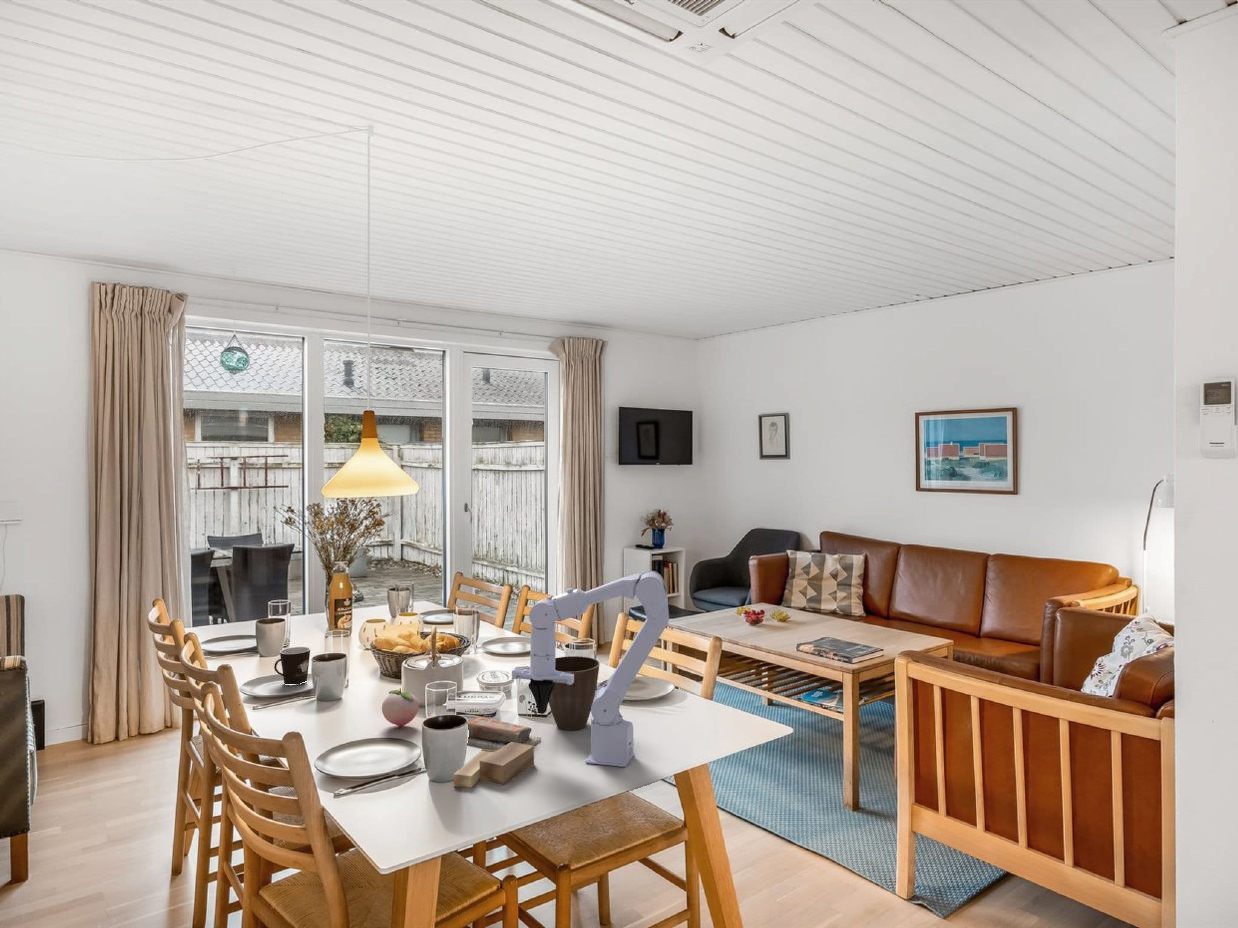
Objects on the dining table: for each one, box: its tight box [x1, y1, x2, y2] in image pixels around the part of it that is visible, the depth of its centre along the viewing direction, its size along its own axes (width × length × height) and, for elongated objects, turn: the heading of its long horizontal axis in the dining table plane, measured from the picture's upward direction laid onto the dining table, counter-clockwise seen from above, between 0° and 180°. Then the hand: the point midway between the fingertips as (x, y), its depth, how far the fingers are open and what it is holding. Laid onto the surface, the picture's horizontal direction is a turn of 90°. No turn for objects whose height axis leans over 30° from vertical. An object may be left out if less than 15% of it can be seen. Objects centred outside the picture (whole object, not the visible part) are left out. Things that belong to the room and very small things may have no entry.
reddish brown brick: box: [467, 716, 542, 750], centre depth 187 cm, size 18×5×10 cm
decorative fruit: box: [381, 687, 420, 728], centre depth 197 cm, size 9×8×10 cm
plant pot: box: [548, 655, 601, 732], centre depth 197 cm, size 15×15×16 cm
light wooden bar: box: [453, 748, 497, 789], centre depth 168 cm, size 4×14×3 cm, turn 164°
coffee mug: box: [273, 646, 311, 684], centre depth 235 cm, size 12×9×10 cm
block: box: [479, 742, 535, 787], centre depth 168 cm, size 6×12×4 cm, turn 154°
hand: (542, 712), depth 176 cm, fingers closed
